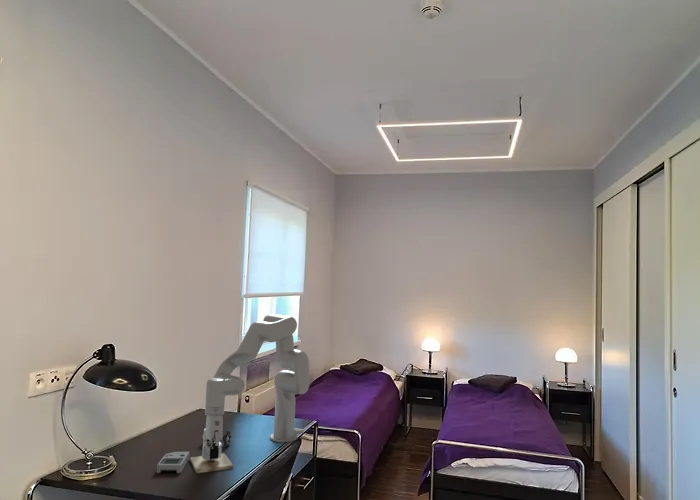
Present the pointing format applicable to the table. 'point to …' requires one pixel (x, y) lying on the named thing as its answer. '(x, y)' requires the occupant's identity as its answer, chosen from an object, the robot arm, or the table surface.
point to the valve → (225, 439)
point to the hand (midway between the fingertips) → (211, 454)
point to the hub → (207, 451)
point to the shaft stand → (210, 463)
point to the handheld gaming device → (173, 462)
